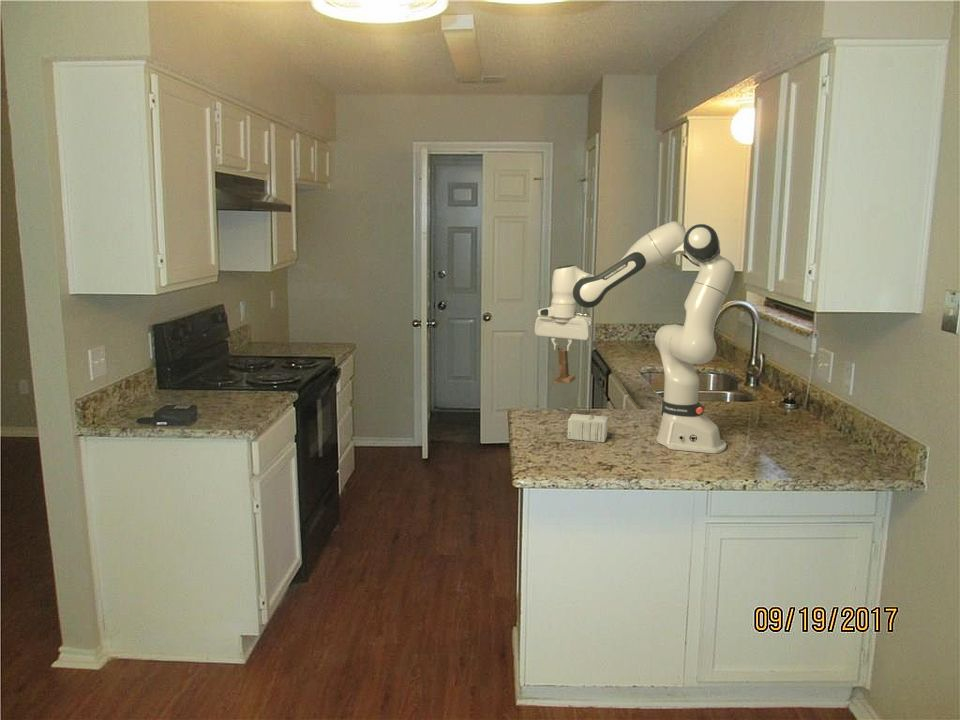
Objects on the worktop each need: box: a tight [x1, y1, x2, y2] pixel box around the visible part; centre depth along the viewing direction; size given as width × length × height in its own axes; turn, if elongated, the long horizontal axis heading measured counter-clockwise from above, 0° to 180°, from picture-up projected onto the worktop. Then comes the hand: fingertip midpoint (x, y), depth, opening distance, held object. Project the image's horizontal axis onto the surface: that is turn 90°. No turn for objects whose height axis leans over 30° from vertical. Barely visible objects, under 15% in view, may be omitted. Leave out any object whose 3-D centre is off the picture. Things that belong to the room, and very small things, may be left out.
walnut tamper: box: [553, 347, 576, 384], centre depth 266 cm, size 6×6×12 cm
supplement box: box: [567, 413, 609, 443], centre depth 254 cm, size 7×7×13 cm
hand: (562, 350), depth 264 cm, fingers closed on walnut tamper, 2 cm apart
